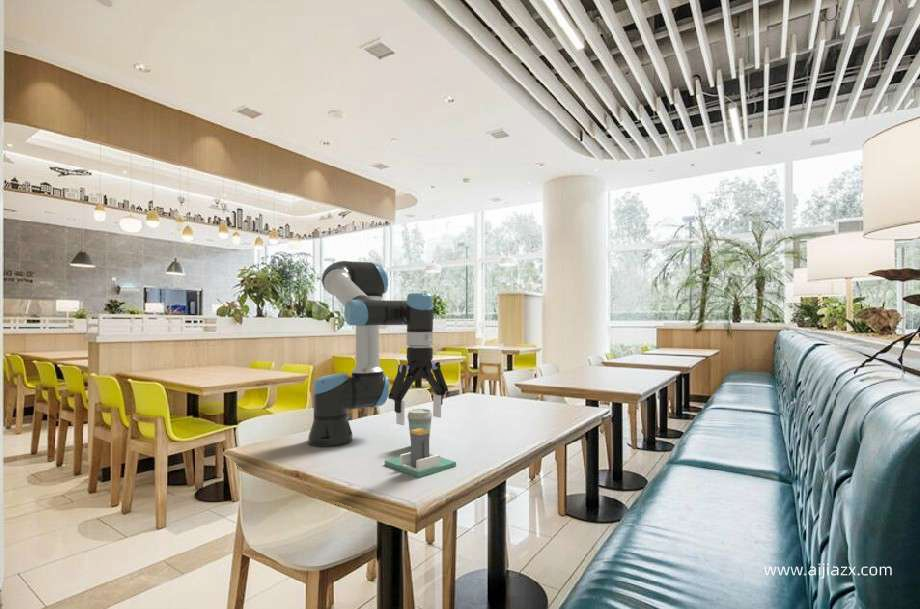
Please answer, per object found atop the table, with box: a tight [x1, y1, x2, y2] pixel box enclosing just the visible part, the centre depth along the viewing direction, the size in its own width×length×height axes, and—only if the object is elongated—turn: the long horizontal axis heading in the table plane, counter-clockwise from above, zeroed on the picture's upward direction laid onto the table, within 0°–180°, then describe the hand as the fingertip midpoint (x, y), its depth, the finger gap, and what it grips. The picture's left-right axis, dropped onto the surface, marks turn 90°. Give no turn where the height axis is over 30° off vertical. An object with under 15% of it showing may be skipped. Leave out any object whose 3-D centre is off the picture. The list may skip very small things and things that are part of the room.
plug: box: [410, 428, 430, 467], centre depth 133 cm, size 5×4×10 cm
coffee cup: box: [406, 408, 434, 440], centre depth 158 cm, size 8×8×12 cm
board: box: [384, 451, 457, 478], centre depth 137 cm, size 16×14×4 cm
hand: (419, 420), depth 134 cm, fingers open, 13 cm apart
